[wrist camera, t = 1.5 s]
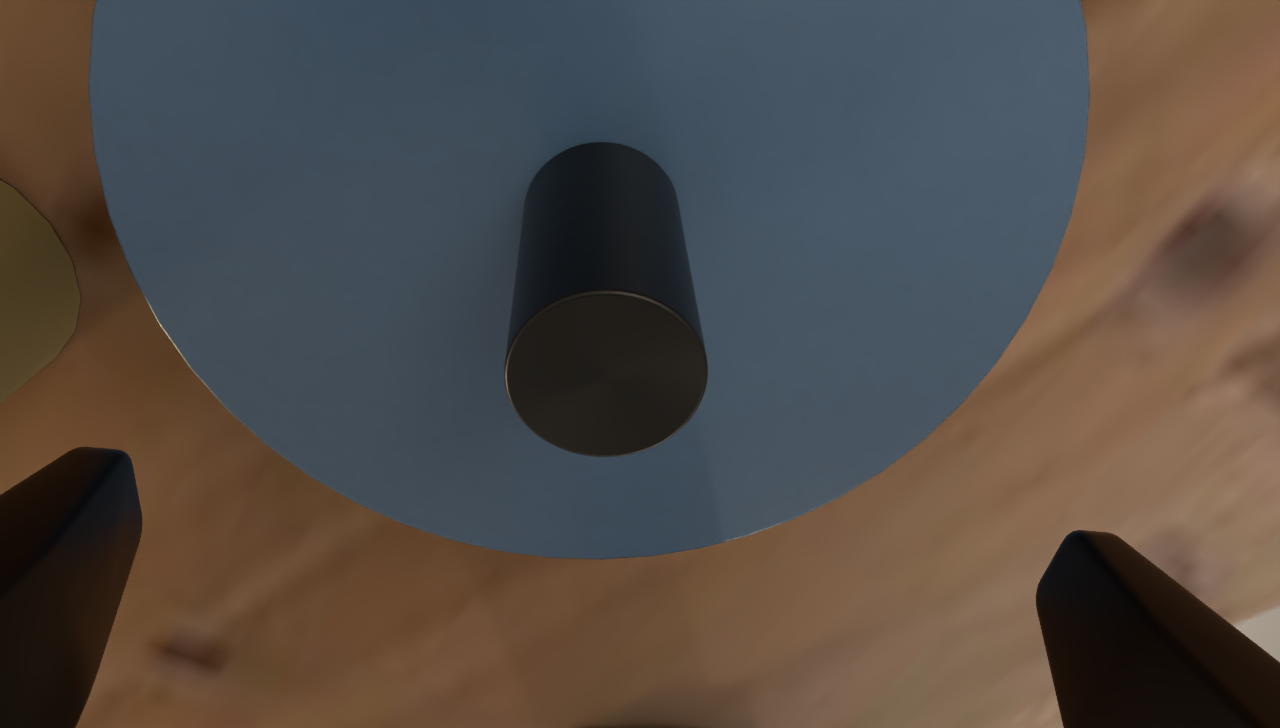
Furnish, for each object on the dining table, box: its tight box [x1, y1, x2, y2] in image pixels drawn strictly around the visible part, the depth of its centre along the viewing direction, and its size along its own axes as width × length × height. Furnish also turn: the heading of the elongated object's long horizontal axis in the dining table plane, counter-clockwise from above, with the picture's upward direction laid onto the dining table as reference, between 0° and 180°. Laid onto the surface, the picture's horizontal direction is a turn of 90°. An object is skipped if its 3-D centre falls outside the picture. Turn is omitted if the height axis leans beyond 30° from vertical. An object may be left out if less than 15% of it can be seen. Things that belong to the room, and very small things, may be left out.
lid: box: [88, 0, 1090, 559], centre depth 14 cm, size 15×15×6 cm
